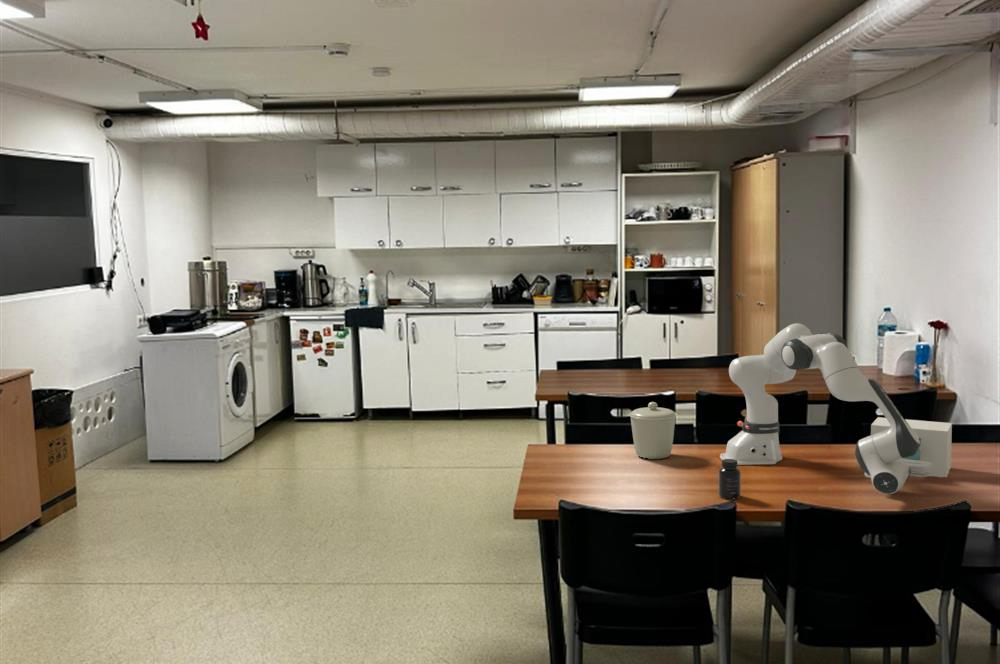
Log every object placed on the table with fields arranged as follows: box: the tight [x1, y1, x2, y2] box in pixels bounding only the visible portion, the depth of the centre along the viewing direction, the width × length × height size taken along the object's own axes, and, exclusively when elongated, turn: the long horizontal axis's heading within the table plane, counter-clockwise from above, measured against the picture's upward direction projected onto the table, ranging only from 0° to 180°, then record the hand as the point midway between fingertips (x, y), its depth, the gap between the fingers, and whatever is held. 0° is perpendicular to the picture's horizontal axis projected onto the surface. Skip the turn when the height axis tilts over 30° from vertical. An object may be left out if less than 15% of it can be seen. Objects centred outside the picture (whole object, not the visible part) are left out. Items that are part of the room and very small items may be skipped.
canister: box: [628, 401, 678, 460], centre depth 335 cm, size 18×18×21 cm
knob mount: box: [870, 416, 953, 479], centre depth 308 cm, size 14×24×16 cm, turn 58°
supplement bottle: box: [718, 459, 742, 500], centre depth 282 cm, size 7×7×12 cm
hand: (900, 459), depth 288 cm, fingers closed
